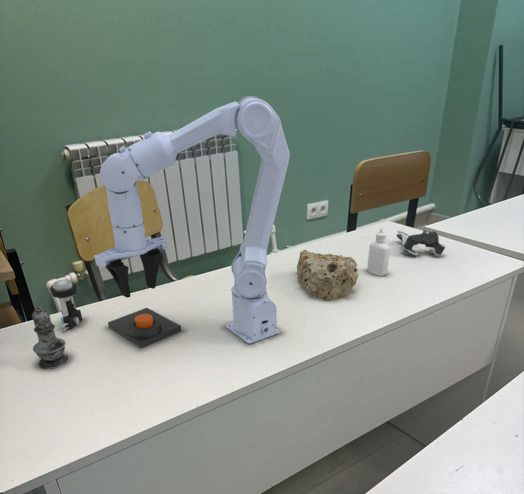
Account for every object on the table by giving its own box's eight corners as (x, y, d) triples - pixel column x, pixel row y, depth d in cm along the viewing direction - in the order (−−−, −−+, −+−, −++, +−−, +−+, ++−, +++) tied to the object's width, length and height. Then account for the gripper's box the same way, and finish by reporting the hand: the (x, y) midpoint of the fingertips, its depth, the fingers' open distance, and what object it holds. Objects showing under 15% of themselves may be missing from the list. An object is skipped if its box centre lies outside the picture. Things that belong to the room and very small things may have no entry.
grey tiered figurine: (37, 357, 94) (20, 302, 88) (68, 350, 96) (54, 296, 90) (37, 372, 90) (20, 315, 83) (70, 365, 92) (55, 309, 85)
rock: (287, 275, 130) (295, 239, 126) (336, 283, 133) (346, 248, 130) (304, 299, 112) (315, 257, 108) (361, 308, 115) (373, 267, 111)
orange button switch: (181, 331, 102) (180, 318, 101) (141, 348, 96) (139, 335, 95) (147, 312, 110) (145, 300, 109) (108, 327, 104) (106, 314, 103)
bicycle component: (394, 233, 150) (397, 251, 138) (406, 213, 146) (410, 229, 134) (428, 249, 151) (434, 268, 138) (441, 229, 147) (448, 246, 134)
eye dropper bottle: (381, 268, 131) (386, 225, 125) (388, 276, 127) (394, 231, 120) (365, 269, 131) (370, 226, 125) (372, 277, 126) (377, 232, 120)
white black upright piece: (74, 334, 102) (63, 291, 97) (51, 332, 103) (39, 289, 98) (89, 319, 108) (79, 278, 103) (67, 318, 109) (57, 277, 104)
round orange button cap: (156, 324, 99) (155, 317, 98) (142, 330, 97) (140, 323, 96) (147, 319, 101) (146, 311, 100) (132, 325, 99) (131, 317, 98)
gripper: (149, 212, 95) (157, 275, 102) (80, 228, 86) (95, 296, 93) (169, 218, 91) (177, 284, 98) (100, 236, 82) (114, 307, 89)
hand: (138, 291), depth 95 cm, fingers open, 5 cm apart
